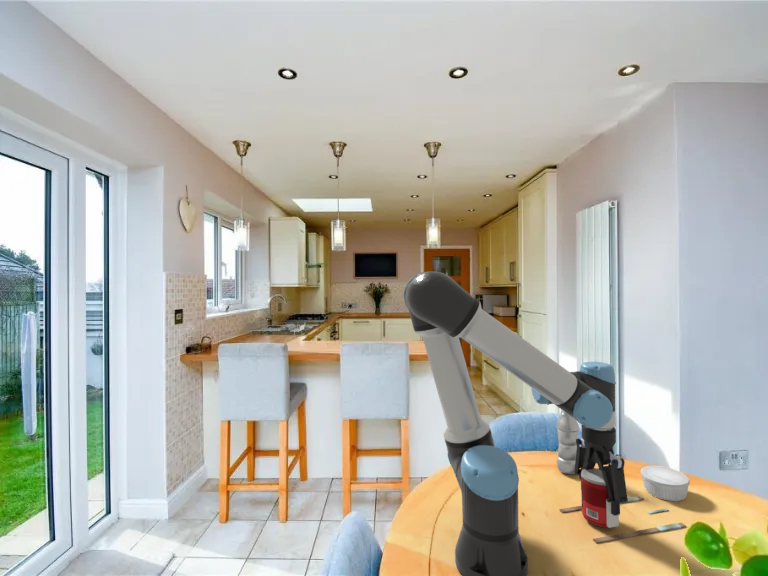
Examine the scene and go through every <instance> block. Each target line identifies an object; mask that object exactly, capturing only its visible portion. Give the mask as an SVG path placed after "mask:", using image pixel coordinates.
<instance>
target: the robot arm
mask: <svg viewBox="0 0 768 576" xmlns="http://www.w3.org/2000/svg"><path fill="white" fill-rule="evenodd" d="M403 291H404V292H403V300H404V304H405V306H406V308H407V309H408V314H409V316H410V320H411V323H412V328H413V331H414V333H415V334H417V335H419V336H421V338H422V341H423V344H424V348H425V350H426V355H427V358H428V362H429V365H430V369H431V374H432V376H433V380H434V384H435V387H436V391H437V394H438V398H439V401H440V406H441V408H442V412H443V415H444V419H445V424H446V426H447V427H446V429H445V431H444V433H443V438H444V439H443V440H444V443H445V446H446V451H447V458H448V462H449V464H450V466H451V468H452V470H453V473H454V474H455V478H456V481H457V483H458V486H459V488H460V492H461V503H462V505H461V508H462V525H461V530H460V533H459V535H458V539H457V542H456V545H455V549H454V556H455V557H454V558H455V559H454V561H455V565H456V568H457V570H458V571H459V573H460V574H461V576H462V575H463V576H527V575H528V574H529V560H528V559H529V558H528V556H527V555H528V554H527V553H526V549H525V547H524V542H523V541H522V538H521V535H520V532H519V531H520V530H519V529H520V527H519V481H520V480H519V479H520V478H519V477H520V476H519V474H518V473H519V472H518V466H517V463H516V461H515V459H514V457H513V456H511V454H510V453H508V452H507V451H505V450H502V449H501V450H500V448H499V447H496V445H495V442H494V437H493V434H492V431H491V428H490V424H489V423H488V422H486V421H485V420H484V419H482V418H481V414H480V410H479V406H478V403H477V400H476V395H475V392H474V389H473V385H472V384H473V383H472V381H471V378H470V373H469V370H468V367H467V362H466V358H465V356H464V352H463V349H462V344H461V341H460V339H462V340H464V341H465V342H467V343H468V344H470V345H471V346H472V348H473V347H474V348H475V349H476V350H478V351H479V352H481V353H482V354H483V355H485V356H486V357H487V358H489V359H491V360H492V361H493V362H494V363H495V364H498V365H499V366H500V367H502V368H503V369H504V370H506V371H507V372H508V373H510V374H511V375H513V376H514V377H516V378H517V379H519V381H521V382H523V383H524V384H525V385H527V386H528V387H530V388H531V393H532V397H533V399H534V400H535V402H536V403H537V404H540V405H555V406H556V407H557V408H559V409H560V410H561V409H562V410H563V411H564V412H566V413H567V414H569V415H570V416H571V417H573V418H574V419H575V420H576V421H577V423H578V424H580V425H581V438H577V439H576V445H577V451H576V461H575V474H574V475H576V476H577V475H578V477H579V480H580V481H581V472H582V470H584V469H585V470H590V469H594V468H596V464H597V467H598V469H600V470H601V471H602V475H603V478H604V482H605V483H606V489H607V493H608V496H609V499H606V515H607V527H606V528H609V529H610V528H615V527H619V526H620V524H619V523H620V522H619V521H620V520H619V519H620V518H619V516H620V515H621V504H625V503H624V502H627V503H629V502H628V498H629V497H628V492H627V485H626V477H625V459H624V458H623V457H621V458H619V457H618V456H616V455H615V451H614V445H615V444H616V443H617V429H616V428H615V427H616V423H617V422H616V384H617V382H616V373H615V368H614V367H613V365H612V364H609V363H607V362H603V361H602V362H601V361H584V362H582V363H580V366H579V367H580V368H579V371H577V370H576V371H569V370H567V369H566V368H565V367H564V366H562V365H560V364H559V363H557V362H556V361H555V360H553V359H552V358H550V357H549V356H548V355H547V354H545V353H544V352H542V351H540V349H538V348H537V347H536V346H534V345H532V344H531V343H530V342H528V341H527V340H526V339H524V338H523V337H522V336H520V335H518V334H517V333H516V332H515V331H513V330H512V329H510V328H509V327H508V326H506V325H505V324H503V323H502V322H501V321H499V320H498V319H496V318H495V317H494V316H492V315H491V314H489V313H488V312H487V311H485V310H484V309H482V304H481V301H479V300H478V299H476V298H475V297H474V296H473V295H471V293H469V292H468V291H466V289H464V288H463V287H462V286H461V285H460V284H459V283H458V282H456V281H455V280H454V279H453V278H452V277H451V276H449V275H447V274H446V273H444V272H440V271H434V270H433V271H424V272H420V273H418V274H415V275H414V276H413V277H411V278H410V280H408V281H407V283H406V286H405V288H404V290H403ZM613 495H614V496H613ZM620 503H621V504H620Z"/></svg>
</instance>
